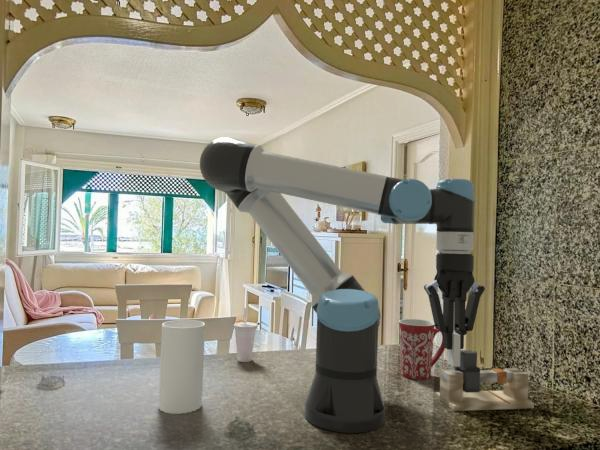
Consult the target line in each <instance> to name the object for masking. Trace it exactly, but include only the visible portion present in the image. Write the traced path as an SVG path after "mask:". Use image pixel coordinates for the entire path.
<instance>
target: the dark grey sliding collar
mask: <svg viewBox="0 0 600 450" xmlns="http://www.w3.org/2000/svg"><path fill="white" fill-rule="evenodd" d="M453 369H454V370H455V371H465V374H464V383H463V391H465V392H480V391H481V390H480V388H481V387H480V386H481V385H480V370H481V368H480V367H478V353H477V352H475V351H474V350H469V349H467V350H465V349H464V350H463V349H460V366H454V368H453Z"/></svg>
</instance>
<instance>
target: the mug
mask: <svg viewBox="0 0 600 450" xmlns="http://www.w3.org/2000/svg"><path fill="white" fill-rule="evenodd" d="M398 325H399V348H400V373H401V376H402V377H404V378H407V379H411V380H419V381H421V380H428V379H430V378H431V376H432V368H433V366H434V365H436V363H437V362H438V361H439V359H440V358H441V357H442V355H443V353H444V351H445V349H446V348H445V347H444V333H443V331H440V330H438V329H436V328H435V324H434V321H431V320H427V319H419V318H404V319H400V320H398ZM438 333H441V337H442V338H441V339H442V340H441V344H440V345H439V348H438V350H437V351H436V353H435V354H434V356H433V349H434V340H435V338H436V336H437V334H438Z"/></svg>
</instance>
